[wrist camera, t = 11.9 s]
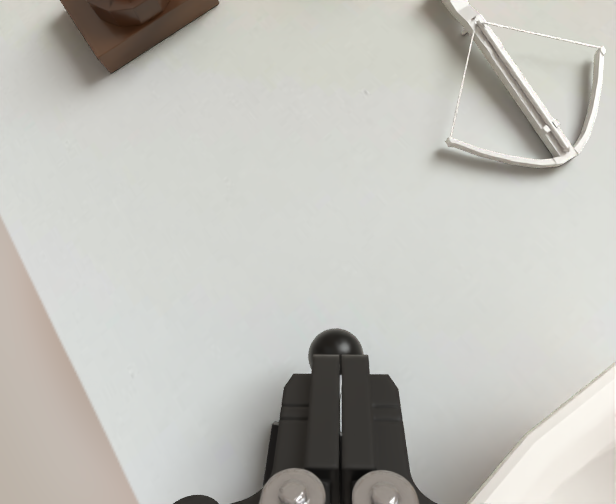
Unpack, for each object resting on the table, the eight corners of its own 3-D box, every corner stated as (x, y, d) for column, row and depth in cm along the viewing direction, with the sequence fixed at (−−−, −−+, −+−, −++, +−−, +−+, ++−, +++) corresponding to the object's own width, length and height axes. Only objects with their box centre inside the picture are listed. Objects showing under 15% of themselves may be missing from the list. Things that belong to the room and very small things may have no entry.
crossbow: (635, 120, 35) (654, 108, 33) (485, 210, 35) (495, 204, 33) (510, -55, 37) (521, -76, 35) (366, 30, 37) (369, 13, 34)
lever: (311, 344, 31) (313, 314, 29) (362, 352, 31) (368, 321, 28) (263, 615, 21) (260, 601, 19) (336, 630, 21) (342, 618, 19)
